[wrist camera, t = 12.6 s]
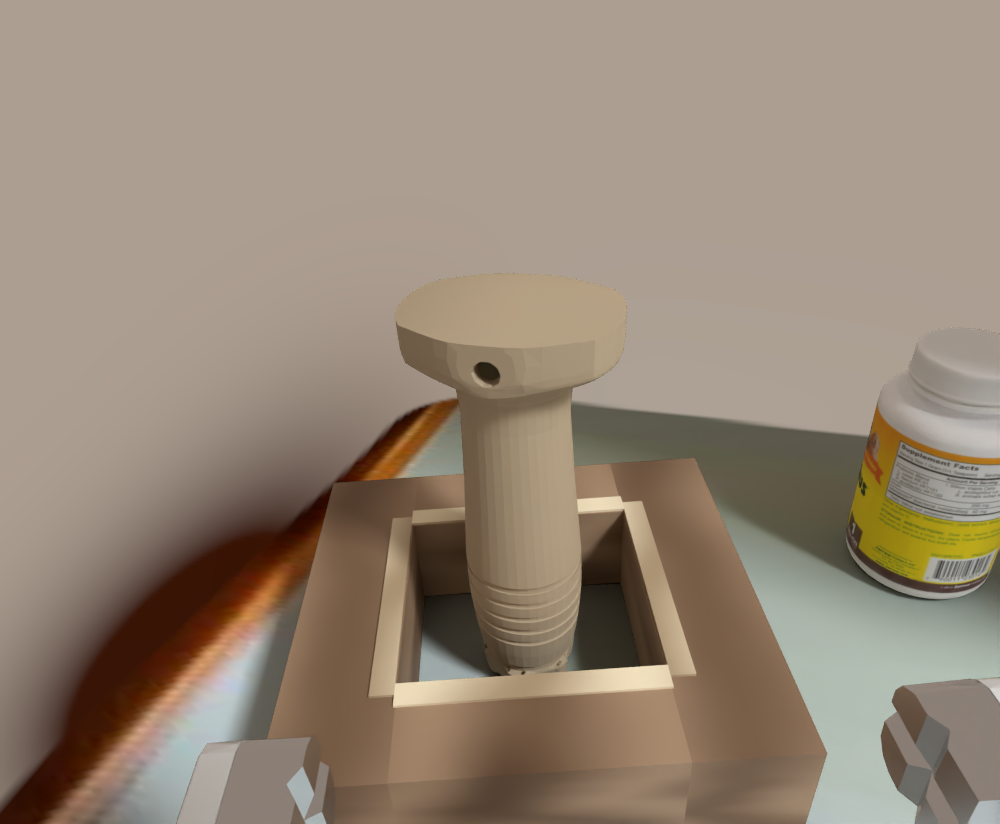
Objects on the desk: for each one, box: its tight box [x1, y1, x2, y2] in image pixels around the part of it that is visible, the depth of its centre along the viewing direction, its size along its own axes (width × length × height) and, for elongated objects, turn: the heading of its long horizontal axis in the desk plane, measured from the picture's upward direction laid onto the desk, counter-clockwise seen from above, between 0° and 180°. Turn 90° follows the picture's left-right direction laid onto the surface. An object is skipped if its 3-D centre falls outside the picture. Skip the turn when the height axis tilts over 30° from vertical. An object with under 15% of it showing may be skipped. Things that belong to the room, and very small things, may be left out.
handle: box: [395, 273, 627, 676], centre depth 24 cm, size 5×6×15 cm
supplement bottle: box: [846, 328, 1000, 599], centre depth 29 cm, size 6×6×10 cm
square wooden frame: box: [267, 458, 827, 824], centre depth 27 cm, size 16×14×4 cm
